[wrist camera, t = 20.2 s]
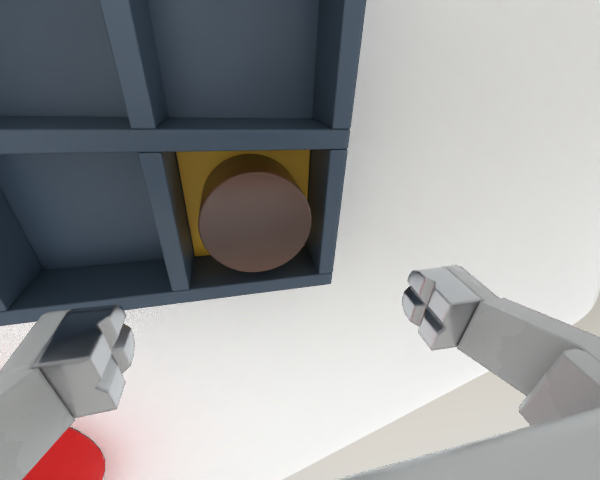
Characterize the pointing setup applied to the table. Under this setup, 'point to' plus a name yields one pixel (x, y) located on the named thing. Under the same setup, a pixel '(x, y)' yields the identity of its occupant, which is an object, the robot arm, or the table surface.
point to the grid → (161, 141)
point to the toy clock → (70, 460)
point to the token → (253, 214)
